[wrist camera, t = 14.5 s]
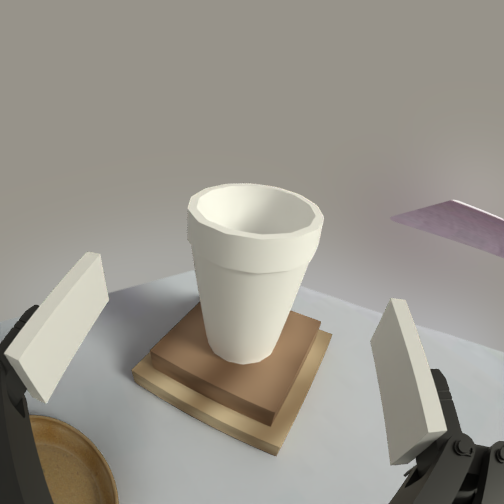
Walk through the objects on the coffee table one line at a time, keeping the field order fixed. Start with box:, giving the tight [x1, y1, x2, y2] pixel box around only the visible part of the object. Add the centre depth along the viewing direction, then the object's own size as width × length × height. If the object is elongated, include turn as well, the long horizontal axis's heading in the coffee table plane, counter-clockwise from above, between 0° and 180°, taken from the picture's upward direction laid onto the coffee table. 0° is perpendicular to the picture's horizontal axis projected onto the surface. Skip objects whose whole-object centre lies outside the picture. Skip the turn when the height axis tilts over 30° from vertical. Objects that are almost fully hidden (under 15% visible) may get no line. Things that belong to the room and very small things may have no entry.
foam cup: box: [187, 184, 324, 365], centre depth 25 cm, size 10×9×13 cm
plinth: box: [132, 302, 332, 456], centre depth 30 cm, size 15×15×4 cm
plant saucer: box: [29, 415, 119, 504], centre depth 14 cm, size 15×15×3 cm
